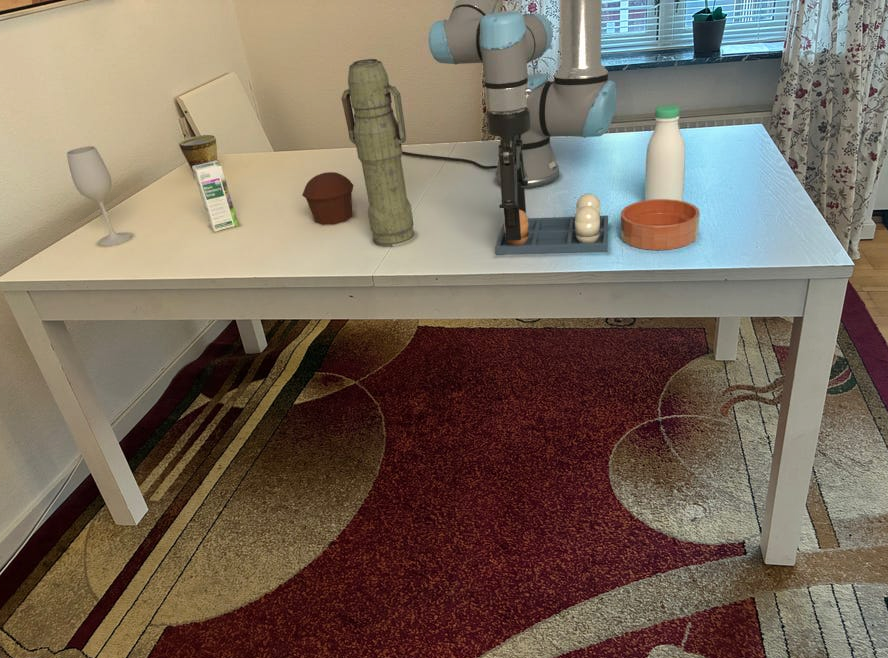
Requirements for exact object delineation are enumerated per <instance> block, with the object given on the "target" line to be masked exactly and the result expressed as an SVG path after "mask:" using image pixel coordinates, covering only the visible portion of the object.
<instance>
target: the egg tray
mask: <svg viewBox="0 0 888 658" xmlns="http://www.w3.org/2000/svg"><path fill="white" fill-rule="evenodd" d="M528 227H529V238H528V240H527V242H526V243H525V244H524V245H510V244H509V243H508V242H507V241H506V238H505V228H504V222H503V224H502V226H501V230H500V232H499V235H498V237H497V242H496V244H495V255H496V256H513V255H514V256H516V255H517V256H519V255H550V254H551V255H553V254H557V255H558V254H593V253H596V254H597V253H608V252H609V251H608V249H609V246H608V245H609V215H600V235H599V238H598V239H597V241H596V242H595V243H580V242H579V241H578V240H577V238H576V235H575V216H557V217H530V218H529V217H528Z"/></svg>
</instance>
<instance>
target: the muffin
mask: <svg viewBox="0 0 888 658" xmlns="http://www.w3.org/2000/svg"><path fill="white" fill-rule="evenodd" d="M353 190H354V183H352V181H351V180H350V179H349V178H348V177H347V176H344V175H343V174H341V173H339V172H334V171H329V172H323V173H319V174H316V175H315V176H313V177H311V179H309V180H308V182H307V183H306V185H305V187H304V189H303V192H302V197H304V198H305V200H306V202H307V204H308V207H309V209H310V212H311V215H312V218H313V220H314V222H315V223H316V224H319V225H321V226H325V225H326V226H327V225H337V224H340V223H344V222H347V221H348V220H349V219H352V218H353V193H352V192H353Z"/></svg>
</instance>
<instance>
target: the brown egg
mask: <svg viewBox="0 0 888 658" xmlns="http://www.w3.org/2000/svg"><path fill="white" fill-rule="evenodd" d="M519 215H520V229H521V240H512V241H507V242H508V243H509V244H510V245H524V244H525V243H526V242H527V240H528V238H529V227H528V218H529V217H528V215H527V212H526V213H525V212H524V211H522V210H520V209H519ZM503 223H504V228H505V218H503ZM505 238H506V231H505Z"/></svg>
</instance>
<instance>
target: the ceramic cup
mask: <svg viewBox="0 0 888 658" xmlns="http://www.w3.org/2000/svg"><path fill="white" fill-rule="evenodd" d="M178 145H179V149H180V151H181V152H182V155H183V156H184V158H185V159H186V161H187V164H188V166H189V168H190V170H191V171H192V174H193V176H194V177H195V175H194V172H193V169H192V166H195V165H200V164H204V163H208V162H213V161H216V160H217V161H218V146H217V138H216V136H215V135H212V134H203V135H196V136H191V137H188V138H185V139H182V140H180V141H179V142H178ZM218 162H219V161H218Z"/></svg>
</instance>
